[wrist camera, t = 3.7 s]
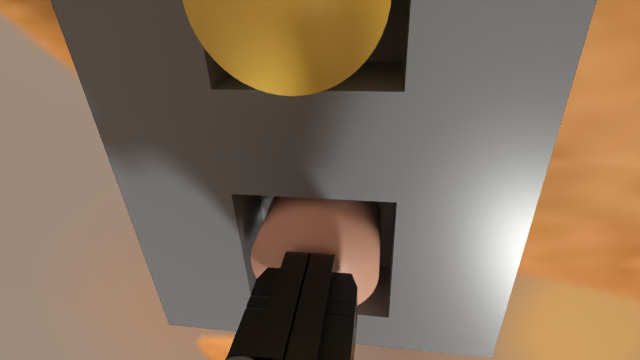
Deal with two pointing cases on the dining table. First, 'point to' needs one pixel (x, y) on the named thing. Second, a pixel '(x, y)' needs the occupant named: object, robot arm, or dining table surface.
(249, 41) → the amber button
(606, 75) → the dining table surface
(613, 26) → the dining table surface
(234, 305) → the button console
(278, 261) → the terracotta button
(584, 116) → the dining table surface
